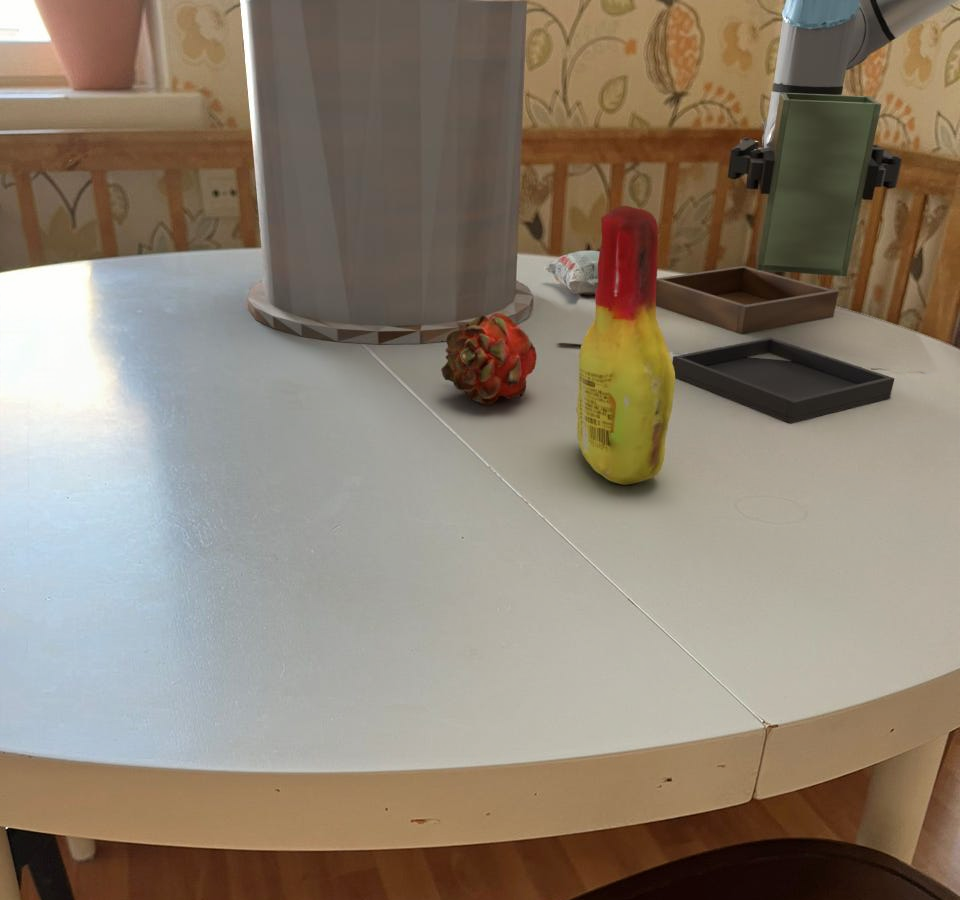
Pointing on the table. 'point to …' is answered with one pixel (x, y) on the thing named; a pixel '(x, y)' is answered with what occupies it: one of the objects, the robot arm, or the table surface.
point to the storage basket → (386, 165)
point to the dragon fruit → (489, 359)
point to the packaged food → (577, 271)
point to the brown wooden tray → (745, 299)
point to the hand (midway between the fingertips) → (819, 180)
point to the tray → (782, 379)
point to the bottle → (625, 356)
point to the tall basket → (816, 182)
